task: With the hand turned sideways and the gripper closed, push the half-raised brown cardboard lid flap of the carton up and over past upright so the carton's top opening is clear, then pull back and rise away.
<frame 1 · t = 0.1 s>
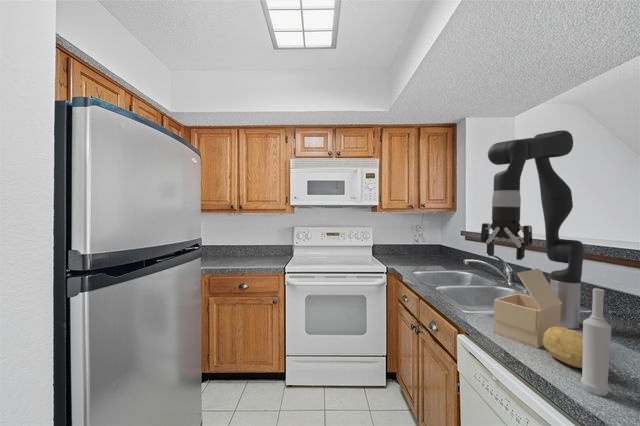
hand: (504, 257, 94), 29 cm above the worktop, tool pointing down, fingers open, 8 cm apart
carton: (525, 335, 107), on the worktop
potato: (569, 364, 88), on the worktop
bottle: (594, 390, 75), on the worktop
carton flap: (539, 288, 104), point 18 cm above the worktop, hinge at 55.0°
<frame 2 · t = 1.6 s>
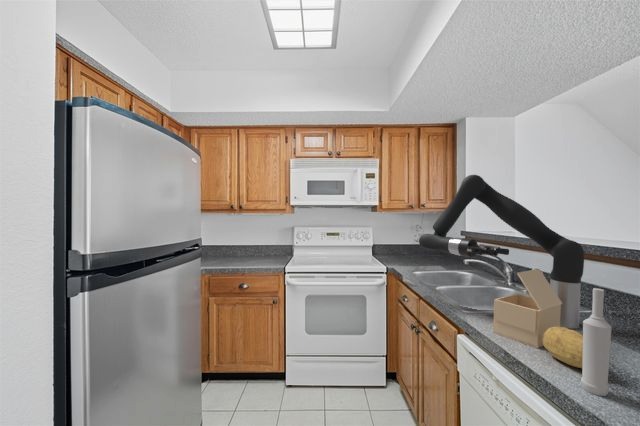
hand: (503, 252, 114), 28 cm above the worktop, tool horizontal, fingers open, 7 cm apart
nothing on the worktop moved.
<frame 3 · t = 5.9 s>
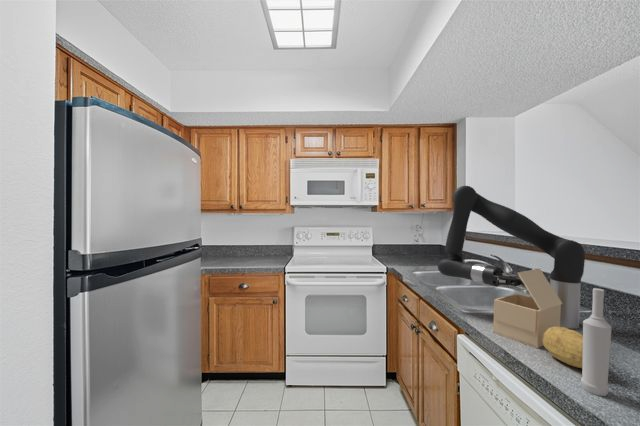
hand: (536, 284, 105), 19 cm above the worktop, tool horizontal, fingers closed
carton flap: (540, 288, 103), point 18 cm above the worktop, hinge at 56.0°, touching gripper
everything else where it was.
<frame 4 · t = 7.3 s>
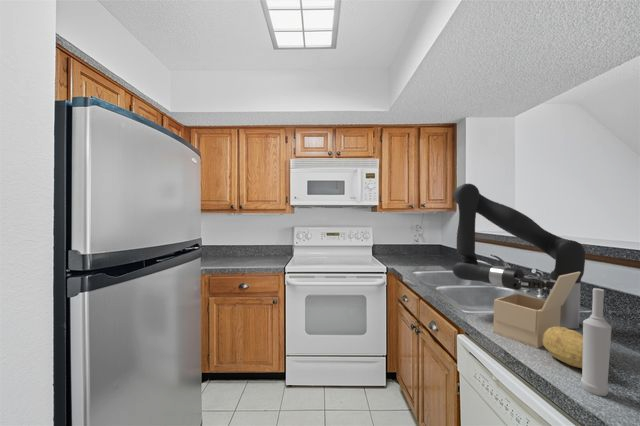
hand: (561, 287, 98), 19 cm above the worktop, tool horizontal, fingers closed
carton flap: (561, 291, 98), point 18 cm above the worktop, hinge at 110.6°, touching gripper
everything else where it was.
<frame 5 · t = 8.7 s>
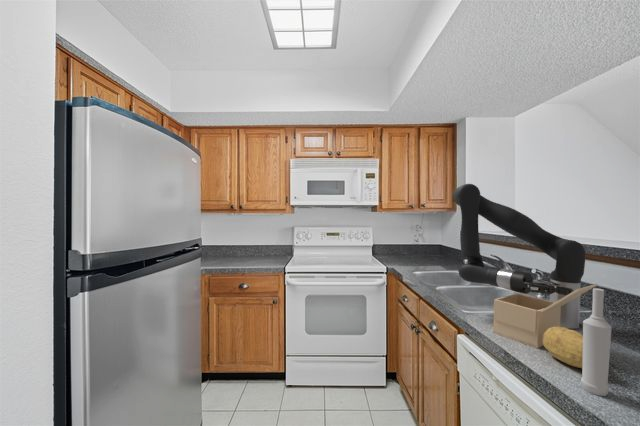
hand: (572, 292, 96), 18 cm above the worktop, tool horizontal, fingers closed
carton flap: (569, 297, 96), point 17 cm above the worktop, hinge at 134.7°, touching gripper
everything else where it was.
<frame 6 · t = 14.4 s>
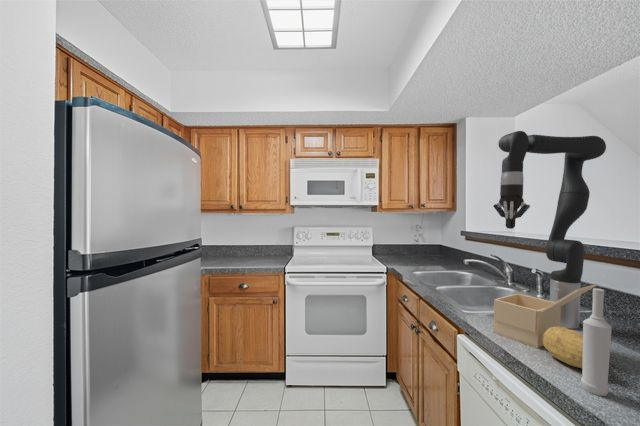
hand: (510, 228, 119), 37 cm above the worktop, tool pointing down, fingers closed
carton flap: (569, 297, 96), point 17 cm above the worktop, hinge at 134.8°
everything else where it was.
at the end: carton flap at +135° (first picture: +55°); potato moved 0.3 cm from its start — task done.
